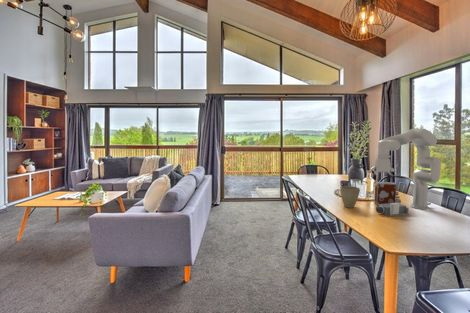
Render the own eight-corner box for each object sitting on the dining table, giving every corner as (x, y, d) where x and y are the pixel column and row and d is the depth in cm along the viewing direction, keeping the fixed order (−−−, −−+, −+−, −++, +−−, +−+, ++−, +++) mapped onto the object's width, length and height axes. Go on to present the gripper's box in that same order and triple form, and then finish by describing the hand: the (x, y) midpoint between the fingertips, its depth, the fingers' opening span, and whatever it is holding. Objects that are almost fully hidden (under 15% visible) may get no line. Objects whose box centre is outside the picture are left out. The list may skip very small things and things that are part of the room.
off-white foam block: (397, 213, 189) (397, 202, 188) (399, 214, 187) (400, 203, 186) (389, 214, 187) (390, 203, 186) (392, 214, 185) (392, 204, 184)
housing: (395, 210, 200) (396, 202, 200) (408, 214, 189) (408, 205, 189) (373, 212, 195) (373, 203, 194) (385, 216, 184) (385, 207, 184)
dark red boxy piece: (402, 208, 206) (404, 184, 204) (377, 206, 210) (378, 183, 208) (398, 205, 215) (399, 182, 213) (373, 203, 219) (374, 181, 217)
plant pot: (339, 208, 206) (340, 188, 205) (339, 203, 220) (340, 185, 218) (359, 210, 200) (360, 190, 199) (358, 205, 214) (359, 186, 213)
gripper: (392, 157, 188) (391, 179, 190) (368, 156, 190) (367, 178, 192) (398, 157, 181) (396, 181, 182) (373, 157, 183) (371, 180, 184)
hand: (381, 179), depth 187 cm, fingers open, 9 cm apart
